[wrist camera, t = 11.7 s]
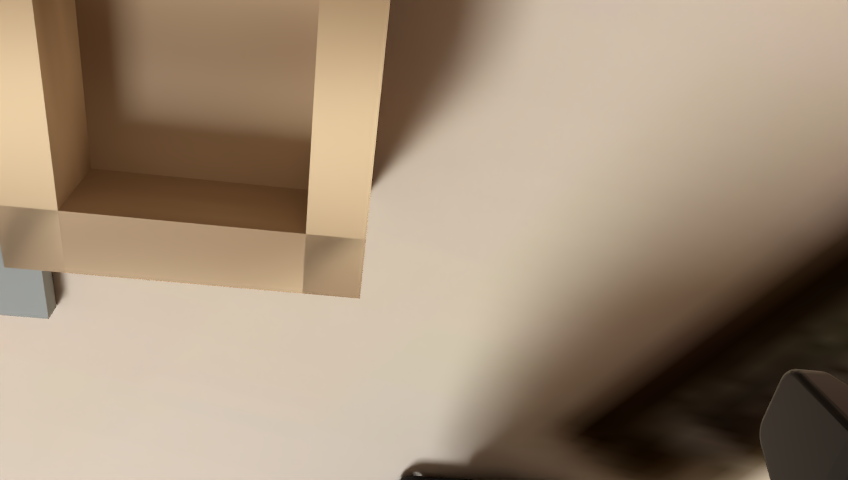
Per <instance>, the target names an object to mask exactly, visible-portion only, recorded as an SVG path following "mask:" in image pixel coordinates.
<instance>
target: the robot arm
mask: <svg viewBox="0 0 848 480" xmlns="http://www.w3.org/2000/svg"><path fill="white" fill-rule="evenodd" d="M760 443H761V447H762V451H763V454H764V458H765V462H766V465H767V469H768V472H769V476H770V480H848V385H846V384H845V383H843V382H842V381H840V380H839V379H837V378H836V377H834V376H833V375H831V374H829V373H827V372H823V371H815V370H803V369H792V370H789V371H788V372H786V373H785V374H784V375H783V377H782V378H781V380H780V382H779V384H778V387H777V389H776V391H775V393H774V395H773V397H772V400H771V402H770V404H769V406H768V408H767V410H766V413H765V415H764V417H763V419H762V422H761V426H760ZM400 480H467V479H453V478H438V477H423V476H406V477H404V478H402V479H400Z"/></svg>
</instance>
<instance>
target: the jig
mask: <svg viewBox="0 0 848 480" xmlns="http://www.w3.org/2000/svg"><path fill="white" fill-rule="evenodd" d="M389 9H390V0H0V246H1V252H2V258H3V263H4V267H6V268H17V269H29V270H40V271H52V272H63V273H75V274H86V275H98V276H109V277H121V278H132V279H144V280H155V281H166V282H178V283H189V284H201V285H212V286H224V287H235V288H247V289H258V290H270V291H281V292H293V293H304V294H315V295H327V296H338V297H350V298H360V291H361V281H362V271H363V261H364V252H365V242H366V232H367V223H368V213H369V203H370V194H371V184H372V174H373V164H374V155H375V145H376V135H377V126H378V116H379V106H380V96H381V87H382V77H383V67H384V58H385V48H386V38H387V29H388V19H389Z"/></svg>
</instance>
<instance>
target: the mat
mask: <svg viewBox="0 0 848 480" xmlns="http://www.w3.org/2000/svg"><path fill="white" fill-rule="evenodd" d="M55 308H56V301H55V293H54V286H53V278H52V271H40V270H29V269H17V268H6V267H4V263H3V258H2V252H1V246H0V315H8V316H21V317H33V318H45V319H49V317H50V316H51V314H52V313H53V311H54V309H55Z"/></svg>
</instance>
